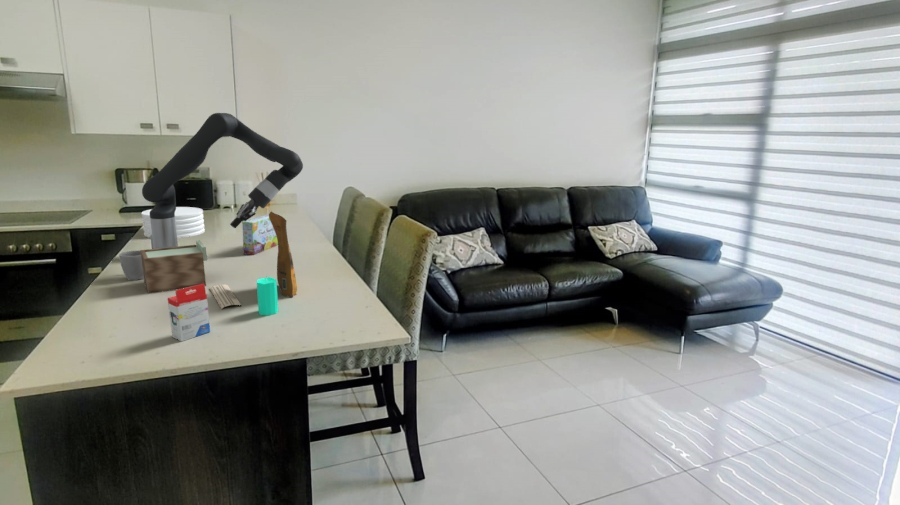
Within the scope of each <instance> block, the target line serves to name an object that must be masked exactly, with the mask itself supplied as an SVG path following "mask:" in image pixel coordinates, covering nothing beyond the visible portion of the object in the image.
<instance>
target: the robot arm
mask: <svg viewBox="0 0 900 505" xmlns="http://www.w3.org/2000/svg"><path fill="white" fill-rule="evenodd" d="M226 137H231V138H234V139H236V140H239V141H241V142H243V143H244V144H246V145H247V146H248V147H249V148H250V149H251V150H252V151H254V152H255V153H256V154H258V156H260V157H263V158H265V159H266V160H267V161H270V162H272V163H278V164H280V165H281V167H280V168H279V169H273V170H272V171H271V172H270V173H269V174H268V175H267V176H266V177H265V178H264V179H263V180H262V181H260V182H259V183H258V184H257V185H256V186H255V187H254V188H253V190H252V191H250V192H249V193H248V195H247V196H248V198H249V199H250V200H248V201H247V202H245V203H243V204H241V206H240V207H239V209H238V211H237V213H236V216H235V218H234V219H233V220H232V221H231V222H230V223H229V225H230V226H231V228H233V229H236V228H237V227H238V226H239V225H240V224H242V222H243V221H247V220H250V219H251V218H252V217H254V216H255V215H256V214H257V210H258V209H259V207H260V208H261V209H265V208H266V207H267V206H268V205H269V203H271V201H272V200H273V199H274V198H275V197H276V196H277V194H278V193H279V192H280V191H281V190H282V189H283V188H284V187H285V185H286V184H288V183H289V182H291V181H292V180H293V179H294V178H296V177H297V176H298V175H299V174H300V173H301V172H302V171H303V168H304V164H303V161H302V159H301V157H300V155H299V154H298V153H297V152H294V151H293V150H291V149H289V148H286V147H282V146H280V145H278V144H277V143H275V142H273V141H272V140H269V139H268V138H266V137H264V136H263V135H260V134H259V133H258V132H256V131H254V130H253V129H251V128H250V127H249V126H247V125H245V123H243V122H242V121H241V120H240V119H238V118H237V117H235V116H234V115H232V114H231V113H227V112H215V113H212V114H210V115H209V116H208V117H207V119H206V120H205V121H204V122H203V124H202V126H200V128H199V129H198V131H196V133H195V134H194V135H193V136H192V137H191V138H190V139H189V140H188V141H187V142H186V143H185V144H184V145H183V146H182V147H181V148H180V149H179V150H178V151H177V152H176V153H175V155H174V156H172V158H171V159H170V160H169V161H168V162H166V164H165V165H164V166H163V167H162V168H161V169H160V170H159V171H158V172H157V173H156V174H155V175H153V176H152V177H151V178H150V179H148V180H147V181H146V182H145V183H144V184H143V185H142V189H141V194H142V197H143V199H145V200H146V201H147V202H150V203H155V205H154V207H153V208H151V209H152V210H151V211H150V221H151V230H152V235H150V237H149V238H150V245H151V249H157V248H168V247H178V246H179V244H178V242H179V241H178V238H177V232H176V223H175V210H176V207H177V200H176V199H177V198H176V197H177V196H176V188H175V186H174V185H175V183H177V182H179V181H180V180H183V179H185V178H186V177H188V176H189V175H191V174H192V173H194V172H195V171H196V170H197V169H198V168H199V167H200V166H201V165H202V164H203V163H204V162H205V160H206V158H207V155H208V151H209V149H210V148H211V147H212V146H213V145H214V144H215V143H216V142H217V141H218V140H220V139H222V138H226Z"/></svg>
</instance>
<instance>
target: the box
mask: <svg viewBox="0 0 900 505" xmlns="http://www.w3.org/2000/svg"><path fill="white" fill-rule="evenodd" d="M190 247H197V246H196V244H190V245H181V246H179V245H178V247H168V248H157V249H152V248H149V249H140V250H139V251H141V259H142V267H143V275H144V278H143V281H144V286H145V285H146V286H145V288H146V291H147V293H148V294H155V293H163V292H169V290H170V291H176V289H177V290H180V289H183V288H187V287H191V286H196V285H200V284H205V286H207V284H206V283H207V282H206V274H205V271H206V270H205V265H204V264H205V261H204V260H203V252H199V253H190V254H180V255H171V256H161V257H152V258H148V257H147V255H146V252H150V251H160V250H170V249H180V248H190ZM162 291H163V292H162Z"/></svg>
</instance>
